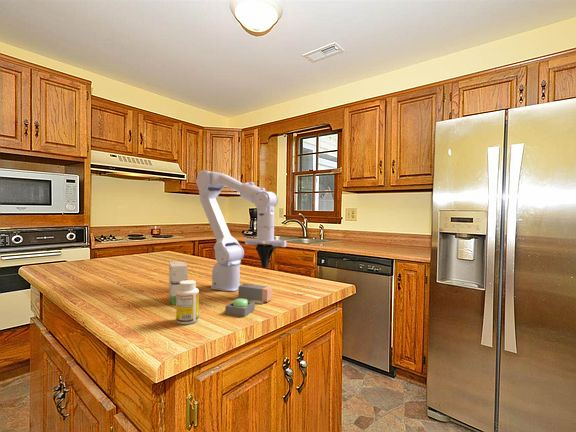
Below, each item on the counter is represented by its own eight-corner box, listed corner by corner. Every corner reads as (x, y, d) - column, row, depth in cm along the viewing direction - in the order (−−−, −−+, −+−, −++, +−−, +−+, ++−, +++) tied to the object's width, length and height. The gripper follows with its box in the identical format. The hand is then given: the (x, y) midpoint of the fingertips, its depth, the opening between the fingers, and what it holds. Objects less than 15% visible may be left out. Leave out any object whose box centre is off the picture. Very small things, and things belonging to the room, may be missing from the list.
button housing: (225, 313, 85) (225, 305, 85) (236, 307, 91) (236, 299, 91) (244, 316, 83) (244, 308, 83) (254, 309, 89) (254, 302, 89)
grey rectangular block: (238, 297, 99) (238, 286, 99) (244, 294, 102) (244, 283, 102) (267, 301, 95) (267, 289, 95) (272, 298, 99) (272, 286, 99)
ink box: (188, 303, 94) (188, 264, 93) (170, 305, 91) (171, 266, 91) (184, 296, 101) (184, 260, 101) (168, 297, 99) (168, 261, 99)
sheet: (237, 301, 97) (237, 299, 97) (248, 295, 104) (248, 293, 104) (262, 304, 94) (262, 303, 94) (271, 298, 101) (271, 296, 101)
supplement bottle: (191, 315, 83) (191, 278, 83) (203, 320, 80) (203, 281, 79) (171, 321, 79) (172, 281, 79) (183, 327, 75) (183, 285, 75)
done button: (230, 311, 86) (230, 301, 86) (237, 307, 90) (237, 297, 89) (243, 313, 84) (243, 303, 84) (249, 309, 88) (250, 299, 88)
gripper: (240, 226, 103) (240, 267, 103) (281, 228, 98) (280, 271, 98) (250, 225, 109) (250, 263, 110) (288, 227, 104) (288, 267, 105)
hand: (265, 266), depth 104 cm, fingers closed
